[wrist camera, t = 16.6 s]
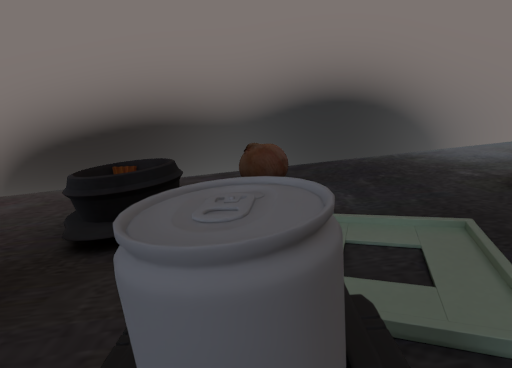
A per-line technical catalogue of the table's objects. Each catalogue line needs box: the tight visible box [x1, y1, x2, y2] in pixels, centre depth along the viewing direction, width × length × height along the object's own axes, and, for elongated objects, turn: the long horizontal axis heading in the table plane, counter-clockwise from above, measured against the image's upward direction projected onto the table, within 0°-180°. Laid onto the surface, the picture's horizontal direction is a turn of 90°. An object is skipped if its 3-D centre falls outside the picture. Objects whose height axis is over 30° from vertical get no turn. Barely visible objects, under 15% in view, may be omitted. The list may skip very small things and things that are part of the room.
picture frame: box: [333, 214, 512, 359], centre depth 26 cm, size 18×18×1 cm
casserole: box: [62, 158, 183, 241], centre depth 44 cm, size 25×19×8 cm
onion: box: [239, 143, 288, 177], centre depth 55 cm, size 10×9×10 cm
